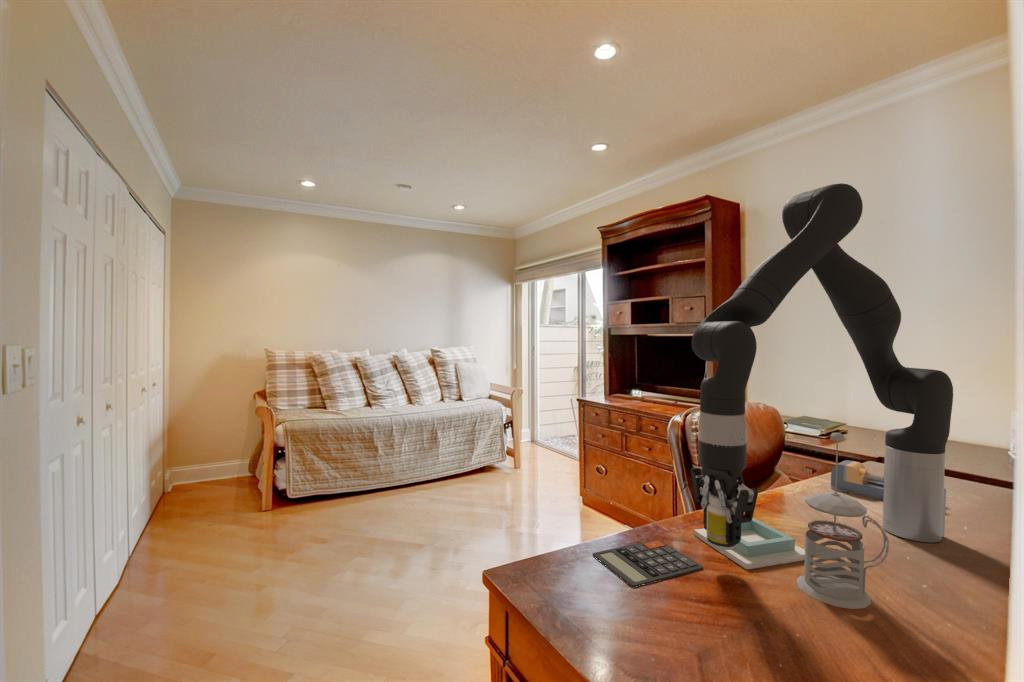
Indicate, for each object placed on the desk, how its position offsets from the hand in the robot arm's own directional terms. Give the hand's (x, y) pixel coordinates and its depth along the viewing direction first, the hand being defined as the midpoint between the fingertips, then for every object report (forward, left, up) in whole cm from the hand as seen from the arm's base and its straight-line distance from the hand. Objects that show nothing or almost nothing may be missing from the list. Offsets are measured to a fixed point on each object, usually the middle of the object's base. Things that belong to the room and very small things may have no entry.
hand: (721, 535), depth 82 cm
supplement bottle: (0, 0, -2) cm, 2 cm away
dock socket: (-11, -5, -5) cm, 13 cm away
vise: (-62, -19, -6) cm, 65 cm away
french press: (-13, +11, -6) cm, 18 cm away
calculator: (+11, -5, -6) cm, 14 cm away
